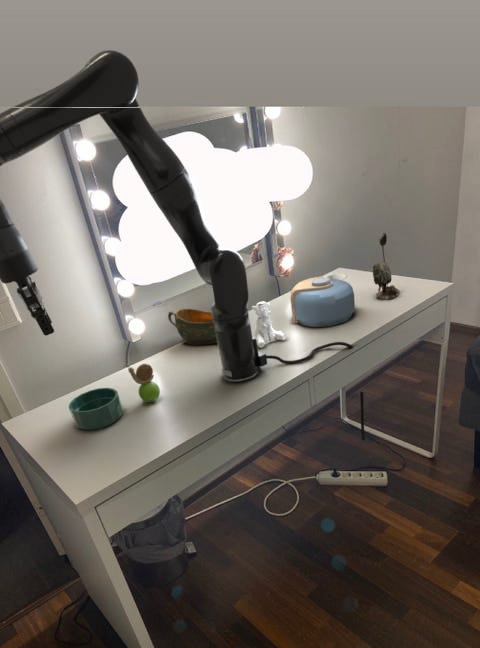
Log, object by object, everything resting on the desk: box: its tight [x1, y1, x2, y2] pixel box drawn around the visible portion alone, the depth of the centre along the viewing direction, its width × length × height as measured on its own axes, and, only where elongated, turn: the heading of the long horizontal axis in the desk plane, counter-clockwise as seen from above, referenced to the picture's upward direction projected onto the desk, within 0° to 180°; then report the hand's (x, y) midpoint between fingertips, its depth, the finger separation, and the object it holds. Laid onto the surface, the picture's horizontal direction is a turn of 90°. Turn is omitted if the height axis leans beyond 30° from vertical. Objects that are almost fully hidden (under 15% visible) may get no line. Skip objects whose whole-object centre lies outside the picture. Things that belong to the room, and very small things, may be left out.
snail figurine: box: [125, 363, 161, 403], centre depth 126 cm, size 5×6×12 cm
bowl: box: [68, 387, 124, 431], centre depth 124 cm, size 12×12×6 cm
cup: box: [167, 308, 218, 346], centre depth 158 cm, size 13×20×10 cm, turn 41°
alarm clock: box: [289, 275, 356, 328], centre depth 157 cm, size 19×20×12 cm
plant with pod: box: [371, 232, 400, 300], centre depth 161 cm, size 8×11×20 cm
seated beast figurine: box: [250, 301, 287, 349], centre depth 148 cm, size 10×9×12 cm
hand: (48, 329), depth 105 cm, fingers open, 8 cm apart
